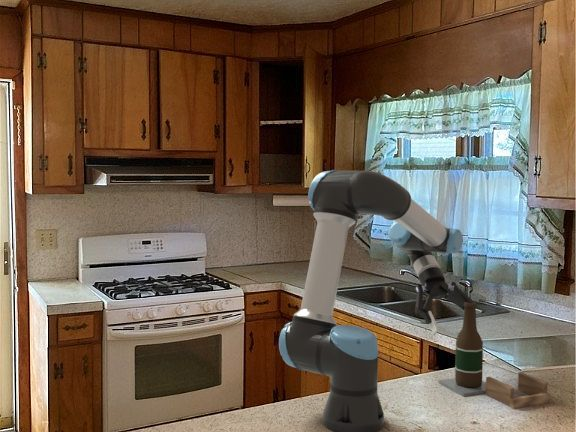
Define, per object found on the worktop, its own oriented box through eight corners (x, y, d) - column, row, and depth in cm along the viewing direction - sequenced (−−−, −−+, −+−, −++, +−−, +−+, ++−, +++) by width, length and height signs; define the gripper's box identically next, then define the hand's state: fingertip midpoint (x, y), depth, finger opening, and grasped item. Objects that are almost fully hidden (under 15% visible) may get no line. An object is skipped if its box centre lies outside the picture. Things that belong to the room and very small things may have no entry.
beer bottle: (463, 389, 178) (465, 305, 177) (449, 380, 186) (451, 300, 184) (487, 387, 180) (489, 304, 178) (473, 378, 188) (474, 299, 186)
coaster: (463, 396, 175) (463, 393, 175) (438, 382, 186) (438, 380, 186) (498, 391, 179) (498, 388, 179) (472, 378, 190) (472, 375, 190)
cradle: (513, 408, 166) (513, 389, 166) (485, 394, 177) (486, 377, 176) (550, 402, 170) (550, 384, 170) (521, 389, 181) (521, 372, 181)
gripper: (457, 277, 208) (484, 332, 195) (390, 281, 200) (414, 340, 187) (467, 263, 203) (496, 319, 190) (399, 267, 194) (424, 327, 182)
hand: (455, 330), depth 188 cm, fingers open, 13 cm apart
